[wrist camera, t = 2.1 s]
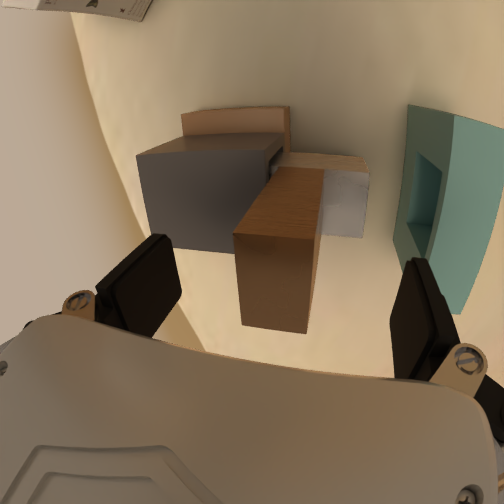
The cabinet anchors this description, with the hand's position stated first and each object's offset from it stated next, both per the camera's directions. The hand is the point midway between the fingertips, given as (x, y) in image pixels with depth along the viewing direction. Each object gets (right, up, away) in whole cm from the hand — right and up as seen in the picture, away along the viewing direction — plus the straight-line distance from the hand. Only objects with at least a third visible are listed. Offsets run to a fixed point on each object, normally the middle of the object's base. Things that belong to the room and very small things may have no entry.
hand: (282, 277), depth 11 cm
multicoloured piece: (0, +6, +9) cm, 11 cm away
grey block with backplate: (-2, +8, +13) cm, 16 cm away
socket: (+13, +7, +9) cm, 18 cm away
